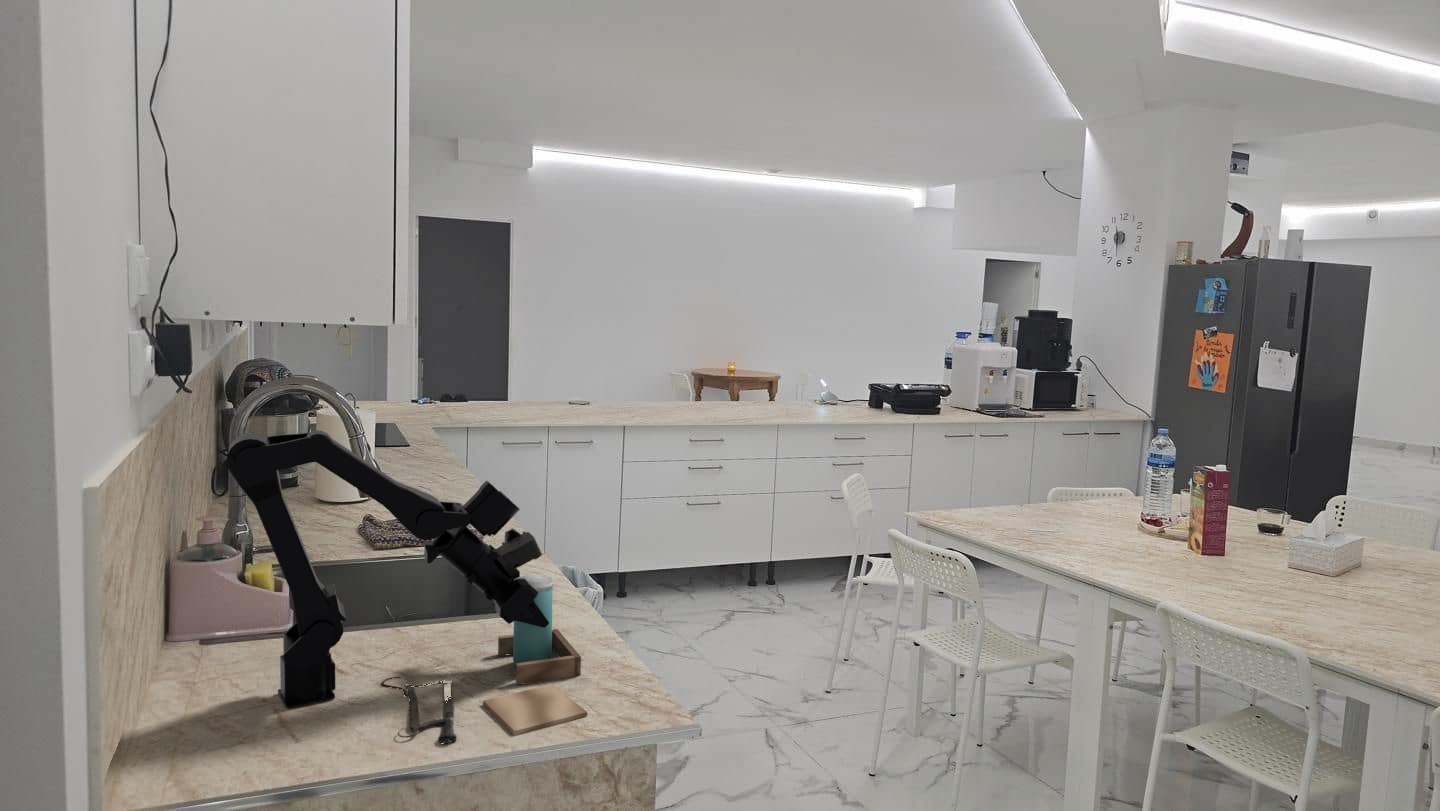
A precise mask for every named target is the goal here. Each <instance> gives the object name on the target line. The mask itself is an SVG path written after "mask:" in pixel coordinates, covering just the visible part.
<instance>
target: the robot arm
mask: <svg viewBox="0 0 1440 811" xmlns="http://www.w3.org/2000/svg"><path fill="white" fill-rule="evenodd" d="M225 461H226V467H227V469H228V471H229V473H230V474H231V475H232V477H233V479H234V480H235V482H236V483H237V484H238V486H239V488H240V489H241V490H242V491H243V493H244V494H245V495H246V496H247V498H248V499H249V500H250V502H252V504H253V506H254V507H255V509H256V512H257V514H258V517H259V519H260V521H261V524H262V526H263V528H264V531H265V533H266V536H267V539H268V541H269V542H270V545H271V548H272V550H273V552H274V555H275V558H276V559H277V562H278V565H279V567H280V569H281V571H282V574H283V576H284V579H285V581H286V583H287V586H288V588H289V591H290V593H291V597H292V601H293V602H292V603H293V609H294V615H295V623H293V624H292V626H290V627H289V628H288V630H287V631H285V632H284V633H283V635H282V638H283V639H282V640H283V642H282V643H283V646H282V647H283V648H282V650H283V651H282V652H283V654H281V655H280V656H279V659H280V660H279V661H280V662H279V663H280V668H279V670H280V671H279V672H280V673H279V674H280V688H279V689H278V690H277V694H278V696H279V698H280V700H281V701H282V703H283V705H284V707H285V708H286V709H293V708H298V707H303V706H308V705H313V704H317V703H321V702H326V701H330V700H335V698H336V694H335V693H334V691H335V690H336V663H335V661H334V660H333V658H332V653H331V652H330V650H331V648H333V647H335V646H336V645H337V644H338V643H339V642H340V640H341V638H342V636H343V635H344V626H343V622H345V621H347V618H346V612H345V608H344V607H345V606H344V604H343V603H342V602H341V601H340V600H339V598H338V596H337V592H336V587H335V583H334V582H332V583H330V584H329V585H327V586H326V587H325V586H324V584H323V583H322V582H321V580H320V579H319V578H318V577H317V575H316V572H315V569H314V566H313V565H312V562H311V559H310V557H309V555H308V553H307V549H306V547H305V545H304V543H303V540H302V538H301V535H300V532H299V531H298V527H297V525H296V523H295V520H294V517H293V516H292V513H291V509H290V508H289V506H288V503H287V501H286V498H285V496H284V493H283V490H282V484H281V479H280V473H279V471H282V470H286V469H290V468H293V467H294V468H295V467H297V466H302V465H305V464H310V463H311V464H312V463H317V464H318V465H320V466H322V467H323V468H324V469H326V470H328V471H329V472H331V473H333V474H334V475H336V476H337V477H338V478H340V479H341V480H343V481H345V482H346V483H348V484H350V485H351V486H353V488H355V489H357V490H359V491H361V492H362V493H363V494H365V495H367V496H368V497H369V498H371V499H372V500H374V501H375V502H377V503H379V504H380V505H382V506H383V507H384V508H385V509H387V510H388V512H390V514H392V516H393V517H394V518H395V519H396V520H397V521H398V522H399V523H400V524H401V525H402V526H403V527H404V528H405V529H407V530H408V531H409V532H410V533H411V534H412V535H413V536H414V537H415V538H417V539H419V540H422V541H424V542H423V543H422V545H423V547H424V550H423V551H424V552H423V557H424V559H425V562H426V563H427V564H432V563H433V562H434V561H435V560H436V559H437V558H438V557H439V556H440V557H441V558H442V559H443V560H445V561H446V562H447V563H448V564H449V565H450V566H452V567H453V568H454V569H455V570H456V571H458V572H459V574H461V575H462V576H463V577H464V579H465V580H466V581H467V582H468V583H470V585H474V587H475V588H477V589H478V590H479V591H480V592H482V594H483V596H485V598H486V599H488V600H489V602H490V601H492V600H493V601H495V602H494V607H495V608H494V610H495V612H496V613H497V614H498V616H499V618H501V619H503V621H504V622H505V623H507V624H508V625H511V624H512V623H514V621H518V622H523V623H527V624H531V625H535V626H539V627H543V628H545V627H546V626H547V625H548V624H549V621H548V620H547V619H546V617H545V616H544V614H543V613H542V612H541V610H540V609H539V608H538V606H537V605H536V603H535V602H534V599H535V598H536V597H537V595H538V591H537V590H536V589H535V588H534V587H533V586H532V585H531V584H530V583H529V582H528V581H527V580H526V579H516V578H518V577H521V575H520V574H521V572H520V570H519V569H518V568H520V567H521V566H524V565H525V564H528V563H529V562H531V561H533V560H537V559H539V558H541V557H542V555H543V553H542V550H541V549H540V547H539V544H538V543H537V541H536V538H535V536H534V535H532V534H531V532H529V531H522V532H520V531H517V530H516V529H514V528H510V529H509V530H506V531H505V532H504V542H502V543H501V545H500V546H499V547H497V548H496V547H494V546H493V545H491V544H487V543H486V542H484V541H483V540H482V539H481V538H480V537H479V536H478V535H477V534H475V533H474V532H473V531H472V530H471V529H470V528H469V527H468V526H469V525H471V526H472V527H473V528H474V529H475V530H476V531H477V532H478V533H479V534H481V535H482V536H483V538H484V537H486V536H489V537H491V536H494V537H495V536H496V535H497V534H498V533H499V532H500V531H501V530H503V528H504V527H505V526H506V525H507V524H508V523H509V521H510V520H511V519H512V518H514V517H515V516H516V515H517V513H518V512H520V511H521V509H520V508H519V507H518V506H517V505H516V504H515V503H514V502H513V501H512V500H511V499H510V498H509V497H507V496H506V495H505V494H504V493H503V492H502V491H501V490H498V489H497V488H496V487H495V486H494V485H493V484H492V483H491V482H490V481H488V480H485V481H484V482H483V483H482V484H481V485H480V487H479V488H478V490H477V491H476V492H475V493H474V494H473V495H472V496H471V497H470V498H469V499H468V500H467V501H466V502H465V503H464V504H462V503H461V502H452V501H451V502H450V501H441V500H439V499H438V498H437V497H436V496H433V495H432V494H430V493H427V492H425V491H422V490H419V489H417V488H415V487H412V486H411V485H410V486H409V485H407V484H404V483H401V482H399V481H397V480H395V479H393V478H392V477H391V476H389V475H387V474H386V473H384V472H383V471H382V470H380V469H379V468H377V467H375V466H374V465H373V464H371V463H370V462H368V461H366V460H365V459H363V458H362V457H361V456H359V455H358V454H356V453H354V452H353V451H351V450H350V449H348V448H347V447H345V446H344V445H342V444H341V443H340V442H338V441H336V440H335V439H334V438H332V437H331V435H330V434H329V433H328V432H326V431H323V430H320V429H319V430H311V431H309V432H303V433H289V434H288V433H287V434H277V435H268V436H266V435H263V434H261V433H258V432H247V433H243V434H240V435H239V436H237V437H236V438H235V439H234V440H233V441H232V442H231V443H230V446H229V447H228V452H227V455H226V460H225ZM429 540H431V541H429ZM515 579H516V580H515Z"/></svg>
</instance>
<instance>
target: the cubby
mask: <svg viewBox="0 0 1440 811" xmlns="http://www.w3.org/2000/svg"><path fill="white" fill-rule="evenodd" d="M513 639H514V634H508V635H499V636H498V637H497V640H498V641H497V655H498V654H499V655H498V656H499V657H501V656H500V655H505V656H507V655H506V654H512V655H513ZM553 649H554V650H555V651H554V650H553ZM552 650H553V651H554V653H556V654H557V656H558V657H551V659H544V660H537V661H530V662H523V663H516V670H515V683H517V684H519V685H523V684H522V683H526V684H532V682H533V683H538V681H539V682H545V680H546V681H552V680H559V679H565V678H569V677H570V678H571V677H577V676H581V675H582V674H581V672H582V667H581V666H582V656H581V655H580V654H579V652H577V650H576V649H575V648H574V647H573V646H572V645H571V643H570V642H569V641H568V640H567V639H566V637H565V636H564V634H562V632H561V631H560V630H559V629H558V628H555V629H552ZM517 684H516V685H517Z"/></svg>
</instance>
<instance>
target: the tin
mask: <svg viewBox="0 0 1440 811" xmlns="http://www.w3.org/2000/svg"><path fill="white" fill-rule="evenodd" d="M516 579H526V580H527V581H528V582H529V583H530V584H531V585H532V586H533V587H534V588H535V589H536V590H537V591H538V595H537V597H536V598H535V599H534V602H535V603H536V605H537V606H538V608H539V609H540V610H541V612H542V613H543V614H544V616H545V617H546V619H547V620H548V621H549V624H548V625H547V626H546V627H545V628H543V627H539V626H535V625H531V624H527V623H523V622H518V621H513V635H514V639H513V654H512V657H513V658H512V668H513V667H514V668H515V669H516V663H523V662H530V661H537V660H544V659H551V658H552V651H553V649H552V630H553V597H554V596H553V594H554V592H553V590H554V588H553V587H554V578H553V577H551V576H549V575H544V574H526V575H520V577H518V578H516ZM516 579H515V580H516ZM514 668H513V669H514ZM515 669H514V670H515Z"/></svg>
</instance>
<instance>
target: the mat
mask: <svg viewBox="0 0 1440 811" xmlns="http://www.w3.org/2000/svg"><path fill="white" fill-rule="evenodd" d="M483 704H484V705H485V706H486V707H487V708H488V709H489V710H488V709H487V708H486V707H485V706H484V705H483ZM482 705H483V706H484V707H485V708H486V709H487V710H488V711H489V712H490V713H491V714H492V715H493V716H494V717H495V718H496V719H497V720H498V721H499V722H500V723H501V724H503V726H505V728H507V729H508V731H509V732H510V733H511V734H512V735H514V736H516V735H521V734H524V733H525V734H526V733H529V732H532V731H536V730H540V729H543V728H547V727H551V726H555V725H557V724H558V725H559V724H562V723H566V722H570V721H573V720H576V719H580V718H581V719H582V718H584V717H588V711H587V710H586V709H584V708H583V707H582V706H580V705H579V704H578V703H577V702H575V701H574V700H573V699H572V698H571V697H569V696H568V695H567V694H566V693H564V692H563V691H562V690H561V689H559V688H558V687H557V686H556V685H555V684H548V685H544V686H539V687H536V688H531V689H526V690H523V691H518V692H513V693H509V694H506V695H505V694H504V695H502V696H497V697H494V698H488V699H485V700H484V699H483V703H482Z"/></svg>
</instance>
